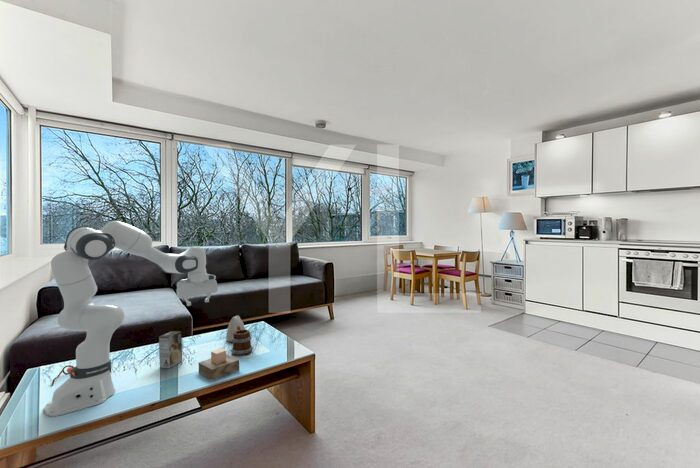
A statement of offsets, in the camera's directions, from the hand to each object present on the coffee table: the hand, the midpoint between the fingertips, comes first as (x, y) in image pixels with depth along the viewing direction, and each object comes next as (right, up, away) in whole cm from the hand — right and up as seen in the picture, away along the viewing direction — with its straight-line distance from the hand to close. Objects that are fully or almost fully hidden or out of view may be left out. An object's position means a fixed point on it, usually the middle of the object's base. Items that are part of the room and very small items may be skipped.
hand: (198, 303), depth 169 cm
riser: (+15, -31, -10) cm, 36 cm away
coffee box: (-14, -32, -1) cm, 34 cm away
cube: (+15, -26, -10) cm, 32 cm away
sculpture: (+7, -31, +36) cm, 48 cm away
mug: (+17, -31, +15) cm, 38 cm away
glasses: (-52, -33, -15) cm, 64 cm away
